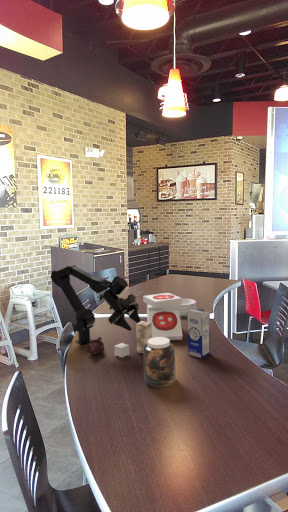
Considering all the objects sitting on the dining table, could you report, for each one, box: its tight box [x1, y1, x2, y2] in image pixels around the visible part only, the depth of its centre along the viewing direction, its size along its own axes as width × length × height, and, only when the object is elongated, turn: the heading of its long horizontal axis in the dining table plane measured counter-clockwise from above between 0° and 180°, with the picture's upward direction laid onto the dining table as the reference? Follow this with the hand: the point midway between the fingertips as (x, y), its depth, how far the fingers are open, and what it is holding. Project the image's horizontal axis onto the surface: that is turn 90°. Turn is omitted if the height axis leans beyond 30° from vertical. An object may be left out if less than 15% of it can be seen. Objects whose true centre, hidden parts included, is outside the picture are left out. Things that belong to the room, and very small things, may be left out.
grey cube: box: [114, 342, 130, 359], centre depth 161 cm, size 4×4×4 cm
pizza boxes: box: [142, 292, 184, 341], centre depth 186 cm, size 19×30×18 cm, turn 3°
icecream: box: [87, 336, 105, 356], centre depth 164 cm, size 7×7×15 cm
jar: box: [142, 337, 177, 389], centre depth 135 cm, size 12×12×15 cm
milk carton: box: [186, 308, 211, 359], centre depth 158 cm, size 7×7×20 cm
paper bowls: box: [178, 298, 197, 317], centre depth 223 cm, size 15×15×8 cm
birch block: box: [135, 320, 152, 354], centre depth 164 cm, size 5×5×13 cm
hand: (136, 327), depth 165 cm, fingers open, 9 cm apart
